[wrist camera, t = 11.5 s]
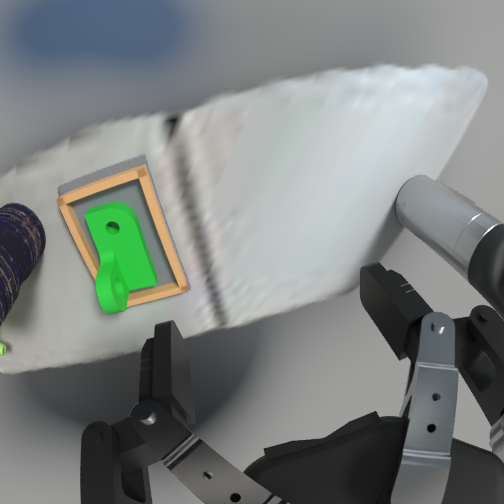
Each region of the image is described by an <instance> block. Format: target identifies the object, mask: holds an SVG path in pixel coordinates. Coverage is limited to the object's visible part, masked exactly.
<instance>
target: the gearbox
mask: <svg viewBox="0 0 504 504" xmlns="http://www.w3.org/2000/svg"><path fill="white" fill-rule="evenodd" d="M5 352H6V345H5V344H2V343H0V354H1V355H5Z"/></svg>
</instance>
